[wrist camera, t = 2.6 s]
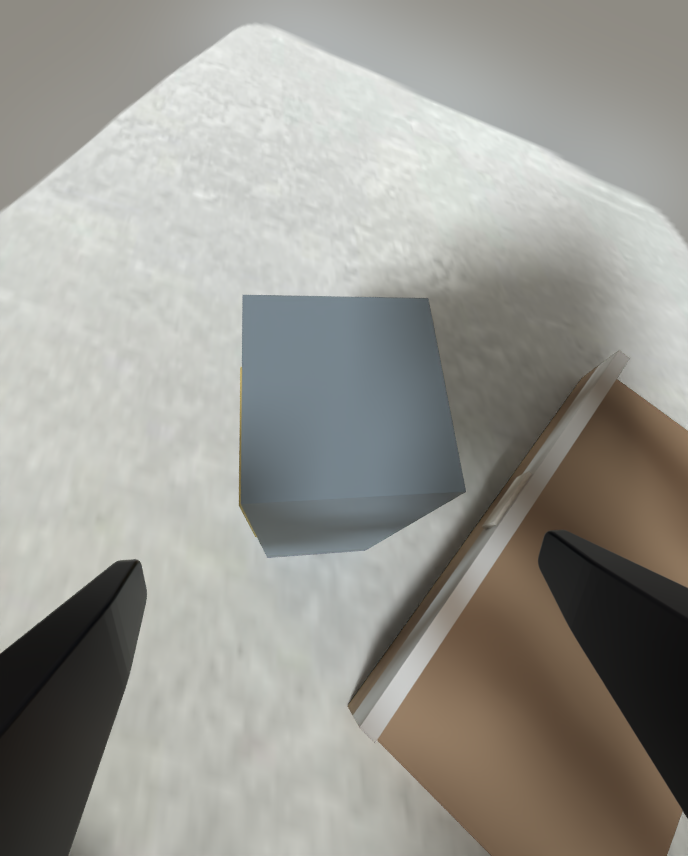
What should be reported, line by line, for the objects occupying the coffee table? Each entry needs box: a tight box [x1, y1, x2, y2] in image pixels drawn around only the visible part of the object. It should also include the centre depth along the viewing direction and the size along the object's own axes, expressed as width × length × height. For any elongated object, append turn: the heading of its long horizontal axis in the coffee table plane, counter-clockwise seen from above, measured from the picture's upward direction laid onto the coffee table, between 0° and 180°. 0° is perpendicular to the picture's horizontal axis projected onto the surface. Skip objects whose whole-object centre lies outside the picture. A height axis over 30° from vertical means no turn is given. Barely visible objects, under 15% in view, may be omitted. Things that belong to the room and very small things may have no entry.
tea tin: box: [239, 295, 466, 558], centre depth 15 cm, size 5×5×12 cm
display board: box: [348, 351, 688, 856], centre depth 19 cm, size 22×12×3 cm, turn 139°
